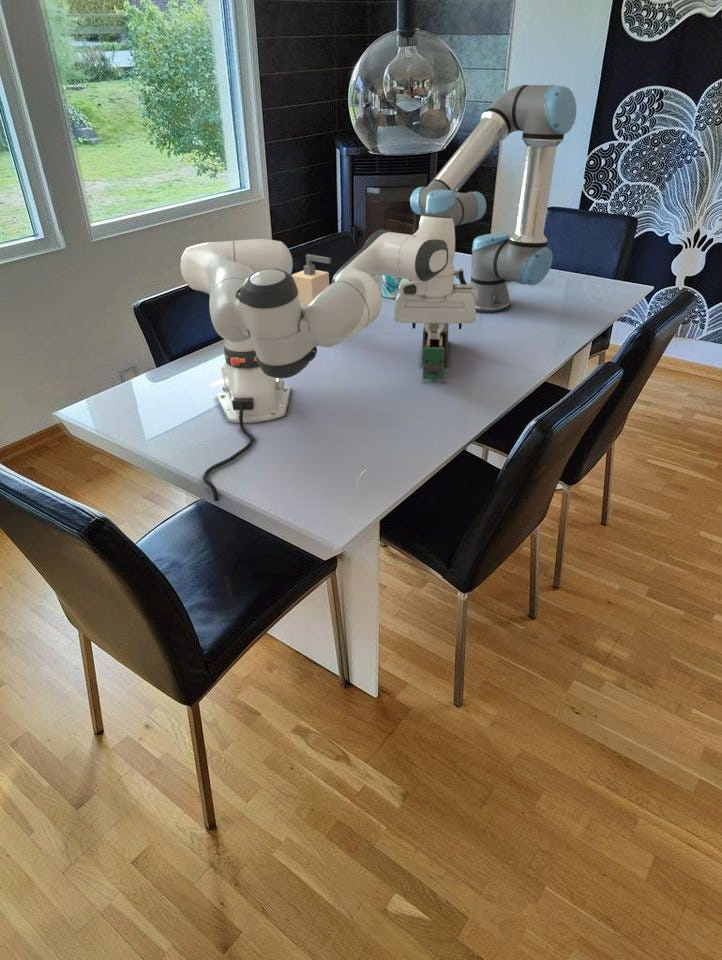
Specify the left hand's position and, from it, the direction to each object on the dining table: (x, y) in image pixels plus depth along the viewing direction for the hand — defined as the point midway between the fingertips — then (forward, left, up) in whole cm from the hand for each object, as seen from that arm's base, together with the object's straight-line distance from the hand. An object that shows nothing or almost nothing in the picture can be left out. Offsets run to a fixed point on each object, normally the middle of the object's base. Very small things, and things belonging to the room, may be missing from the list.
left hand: (433, 338), depth 169 cm
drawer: (+8, -3, -12) cm, 15 cm away
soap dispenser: (+54, +23, -13) cm, 60 cm away
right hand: (+25, -8, -7) cm, 27 cm away
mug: (+76, -9, -13) cm, 78 cm away
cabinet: (+21, -7, -13) cm, 25 cm away
